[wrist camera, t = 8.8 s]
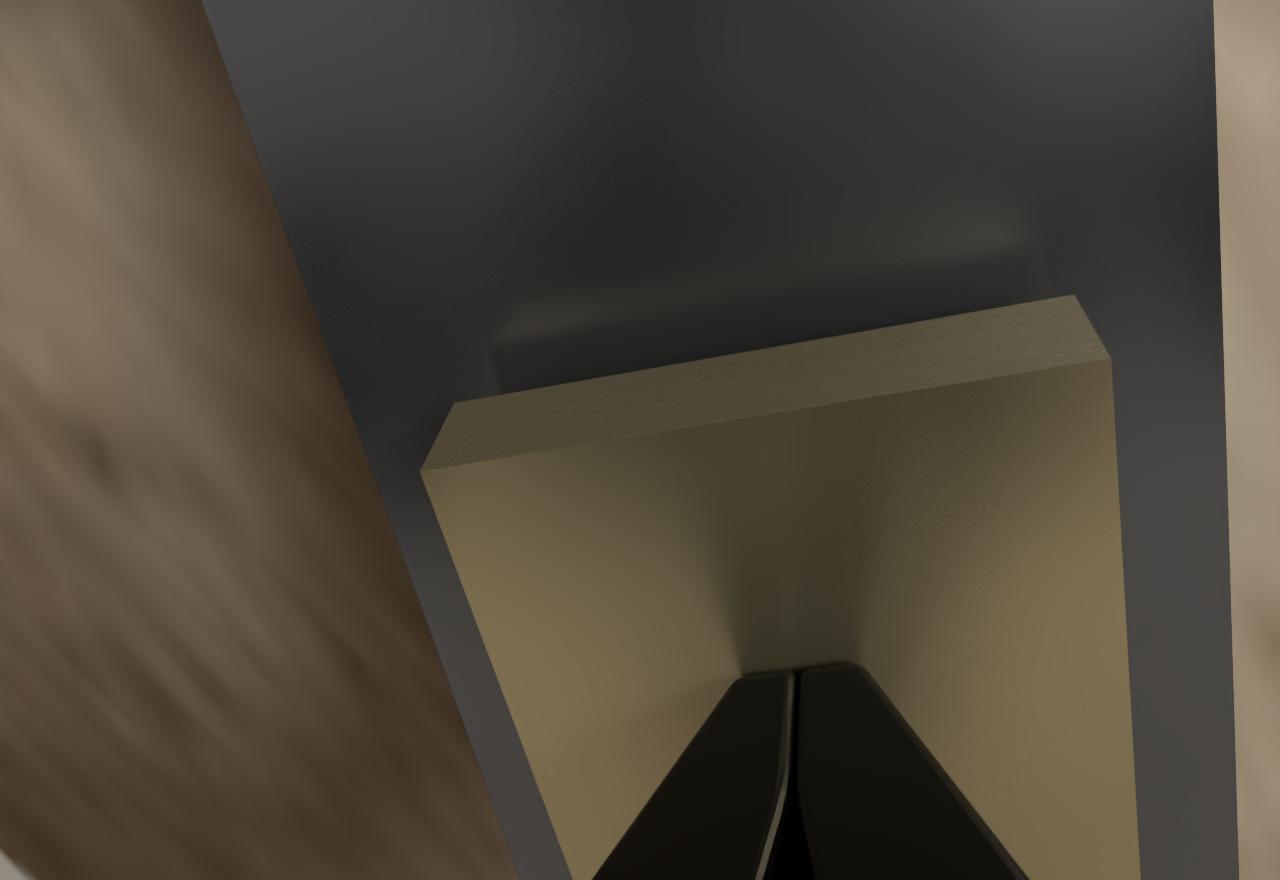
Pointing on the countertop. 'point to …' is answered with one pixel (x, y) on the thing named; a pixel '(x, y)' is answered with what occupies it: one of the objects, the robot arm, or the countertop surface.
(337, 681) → the countertop surface
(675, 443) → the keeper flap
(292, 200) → the drawbar block
